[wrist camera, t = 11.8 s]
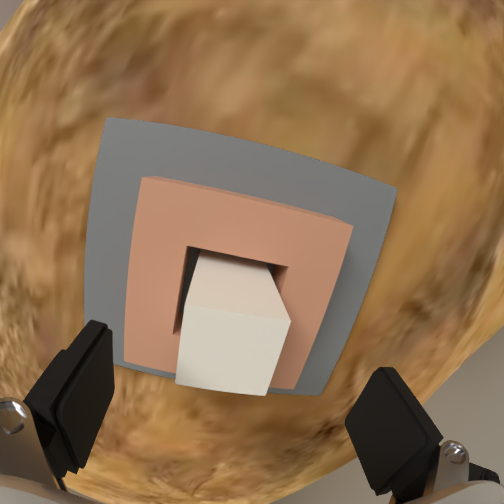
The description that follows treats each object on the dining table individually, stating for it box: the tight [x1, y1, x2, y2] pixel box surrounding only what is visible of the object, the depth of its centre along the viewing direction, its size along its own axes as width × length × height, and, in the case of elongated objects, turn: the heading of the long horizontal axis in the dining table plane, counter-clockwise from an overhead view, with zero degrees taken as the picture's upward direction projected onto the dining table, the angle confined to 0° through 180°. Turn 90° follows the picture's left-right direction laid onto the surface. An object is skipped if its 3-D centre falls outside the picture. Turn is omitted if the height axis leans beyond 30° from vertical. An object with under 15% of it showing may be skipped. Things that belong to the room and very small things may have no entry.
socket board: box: [84, 117, 398, 396], centre depth 18 cm, size 20×18×4 cm
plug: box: [175, 249, 291, 396], centre depth 15 cm, size 4×4×8 cm
